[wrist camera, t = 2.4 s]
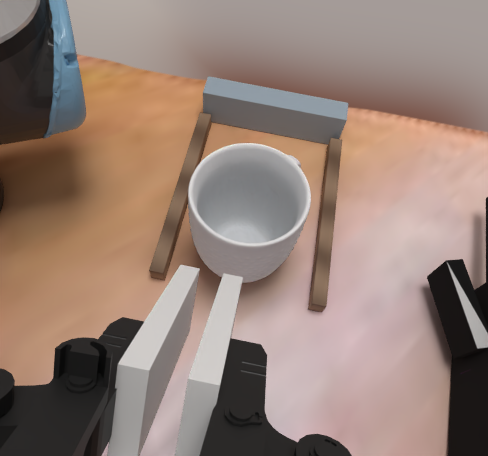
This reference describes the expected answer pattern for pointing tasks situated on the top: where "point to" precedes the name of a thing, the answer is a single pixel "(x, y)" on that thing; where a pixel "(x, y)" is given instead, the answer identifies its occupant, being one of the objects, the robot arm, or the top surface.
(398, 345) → the top surface
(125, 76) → the top surface
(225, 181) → the mug
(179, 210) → the channel
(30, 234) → the top surface
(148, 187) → the top surface
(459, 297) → the black power adapter
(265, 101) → the stop
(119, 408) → the robot arm
